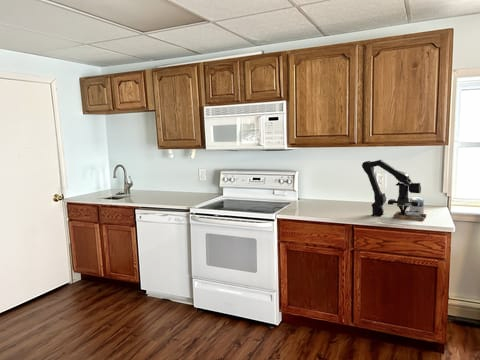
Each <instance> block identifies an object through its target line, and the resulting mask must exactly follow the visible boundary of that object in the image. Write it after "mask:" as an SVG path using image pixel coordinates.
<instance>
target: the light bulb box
mask: <svg viewBox="0 0 480 360" xmlns="http://www.w3.org/2000/svg"><path fill="white" fill-rule="evenodd" d="M412 201H419V206H412V205H410V206H409V212H418V213H422V214H425V211H424V210H425V209H424V207H425V206H424V205H425V203H424V202H425V200H424V199H423V198H421V197H420V196H416V197H415V196H412V197H411V196H410V197H409V202H412Z"/></svg>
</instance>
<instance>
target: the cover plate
mask: <svg viewBox="0 0 480 360" xmlns="http://www.w3.org/2000/svg"><path fill="white" fill-rule="evenodd" d="M406 216H413V217H422V213H418V212H411V211H408V213H407V214H406Z"/></svg>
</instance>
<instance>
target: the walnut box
mask: <svg viewBox="0 0 480 360" xmlns="http://www.w3.org/2000/svg"><path fill="white" fill-rule="evenodd" d="M408 212H409V211H408ZM408 212H407V211H405V214H404V215H402V213H401V211H396V212H395V213H394V214H393V217H392V218H393V219H397V220H409V221H418V222H419V221H420V222H425V219H426V218H427V213H424V214H422V217H413V216H406V214H407V213H408Z"/></svg>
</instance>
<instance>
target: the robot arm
mask: <svg viewBox="0 0 480 360" xmlns="http://www.w3.org/2000/svg"><path fill="white" fill-rule="evenodd" d="M361 167H362V169H363V171H364V172H365V174H366V175H367V177H368V180H369V183H370V186H371V188H372V191H373V195H374V196H373V197H374V199H373V200H374V202H372V204H371V209H372V214H371V216H372V217H379V218H380V217H382V216H383V215H384V214H385V213H384V207H383V206H384V204H386V203H387V205H391V206H393V205H394V204H395V205H396V206H397V207H398V208H399V210H400V212H401V213H402V215H404V214H405V212H407V211H406V210H407V209H408V208H410V205H412V206H419V201H412V202H410V197H409V192H410V194H421V192H422V186H421V183H420V182H413V180H411V179H410V175H409V174H408V173H406V172H404V171H400V170H398V169H396V168H395V167H393V166H391V165H390V164H388V163H387V162H385V161H384V160H383V159H378V160H373V161H371V160H366V161H364V162H362V164H361ZM375 167H380V168H381V169H383V170H384V171H386V172H387V173H389V174H391V175H392V176H393V177H394V178H395V179H396V180H397V181H398V182H397V183H396V184H395V186H398V197H397V200H396V199H395V198H394V199H393V198H390V199H388V200H387V197H386V194H385V192H384V193H382V191H381V188H380V185H379V182H378V181H377V178H376V175H375Z"/></svg>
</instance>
